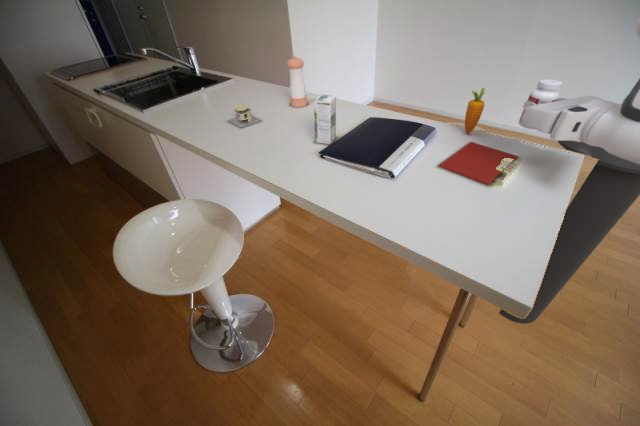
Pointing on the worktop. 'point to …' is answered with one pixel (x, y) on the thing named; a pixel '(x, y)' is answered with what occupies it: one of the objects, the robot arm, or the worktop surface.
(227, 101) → the worktop surface
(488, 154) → the red pad
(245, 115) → the stacked layers on plate
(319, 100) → the syrup box
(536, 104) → the robot arm
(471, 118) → the carrot
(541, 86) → the pill bottle
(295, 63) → the pepper shaker
